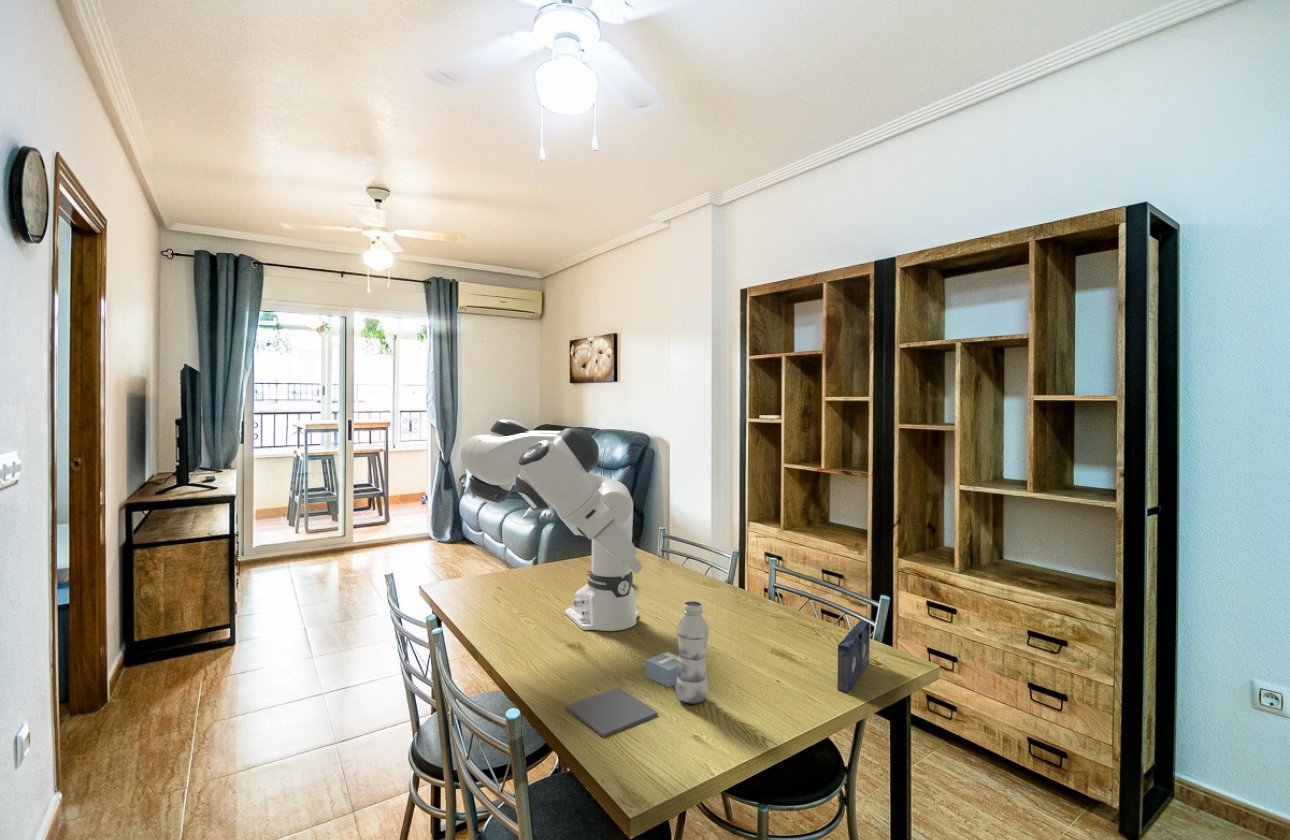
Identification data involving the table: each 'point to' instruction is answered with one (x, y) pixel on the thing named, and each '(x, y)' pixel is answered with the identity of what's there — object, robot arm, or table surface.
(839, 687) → the vhs cassette tape
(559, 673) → the table surface
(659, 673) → the letter block
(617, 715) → the charcoal mat
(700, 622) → the plastic bottle
